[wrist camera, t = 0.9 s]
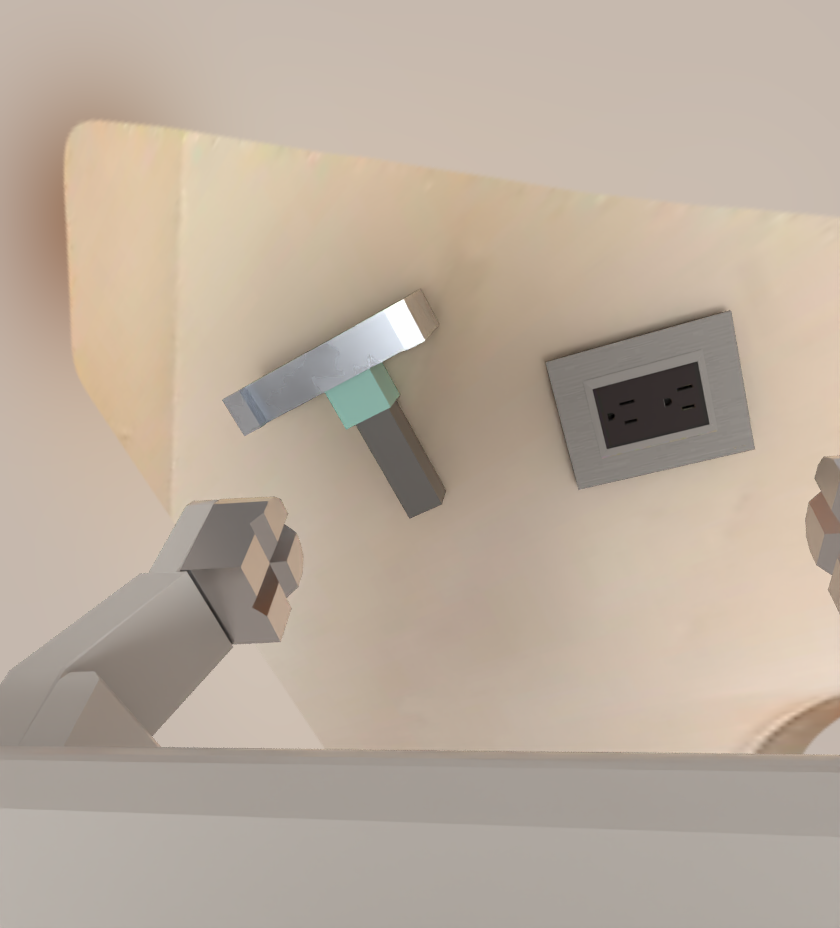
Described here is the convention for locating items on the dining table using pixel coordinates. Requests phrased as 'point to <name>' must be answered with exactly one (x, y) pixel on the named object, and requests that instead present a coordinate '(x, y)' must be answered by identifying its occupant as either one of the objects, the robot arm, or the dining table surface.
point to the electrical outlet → (653, 401)
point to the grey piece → (333, 362)
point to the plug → (389, 437)
